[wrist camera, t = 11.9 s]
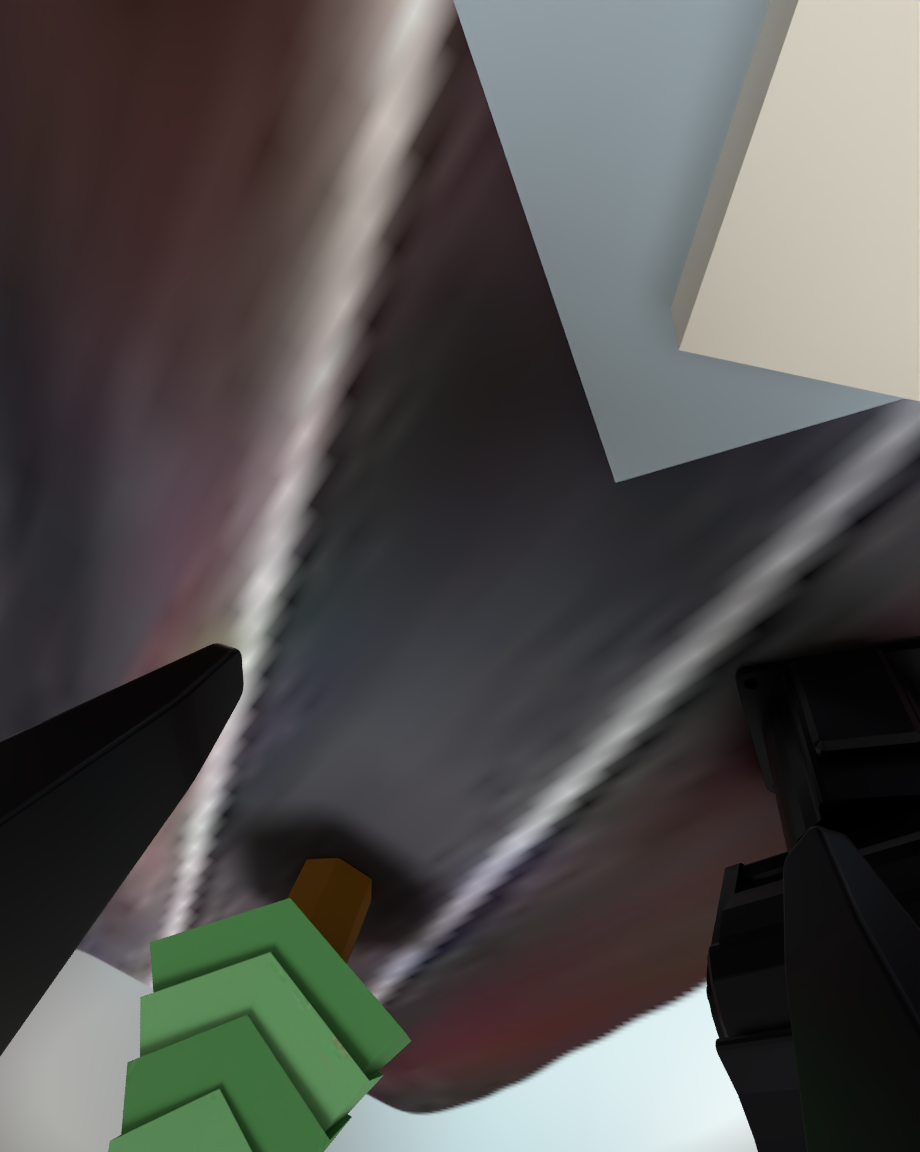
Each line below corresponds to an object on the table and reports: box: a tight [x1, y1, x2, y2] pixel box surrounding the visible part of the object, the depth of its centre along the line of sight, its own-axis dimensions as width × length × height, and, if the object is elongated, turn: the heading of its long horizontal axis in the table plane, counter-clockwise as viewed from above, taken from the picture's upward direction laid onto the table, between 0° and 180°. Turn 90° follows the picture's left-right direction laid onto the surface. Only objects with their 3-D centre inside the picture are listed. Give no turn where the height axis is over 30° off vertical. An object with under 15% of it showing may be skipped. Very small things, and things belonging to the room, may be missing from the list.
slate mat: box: [453, 0, 904, 483], centre depth 13 cm, size 16×16×1 cm
